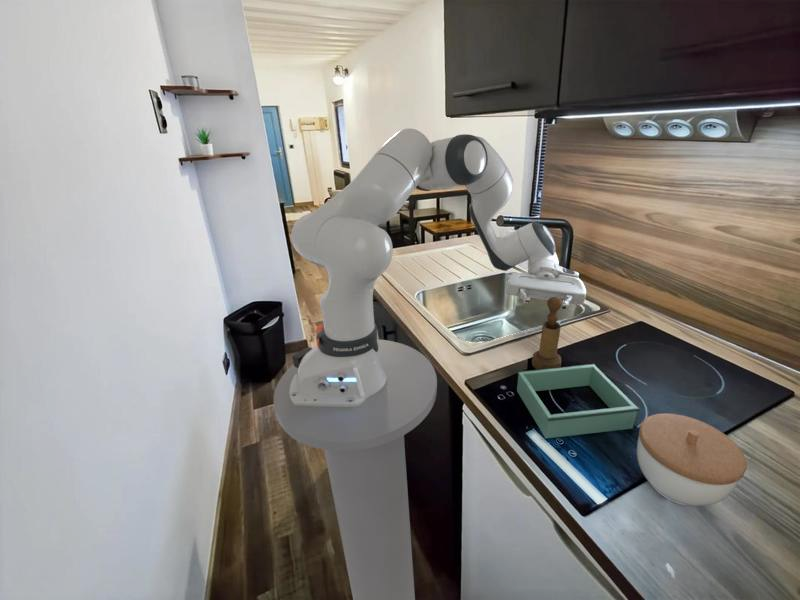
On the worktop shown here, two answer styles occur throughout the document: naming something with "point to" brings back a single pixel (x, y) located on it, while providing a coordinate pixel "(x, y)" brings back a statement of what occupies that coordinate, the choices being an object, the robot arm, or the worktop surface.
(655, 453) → the lidded bowl
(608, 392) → the green square frame
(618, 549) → the worktop surface
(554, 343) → the mortar and pestle
